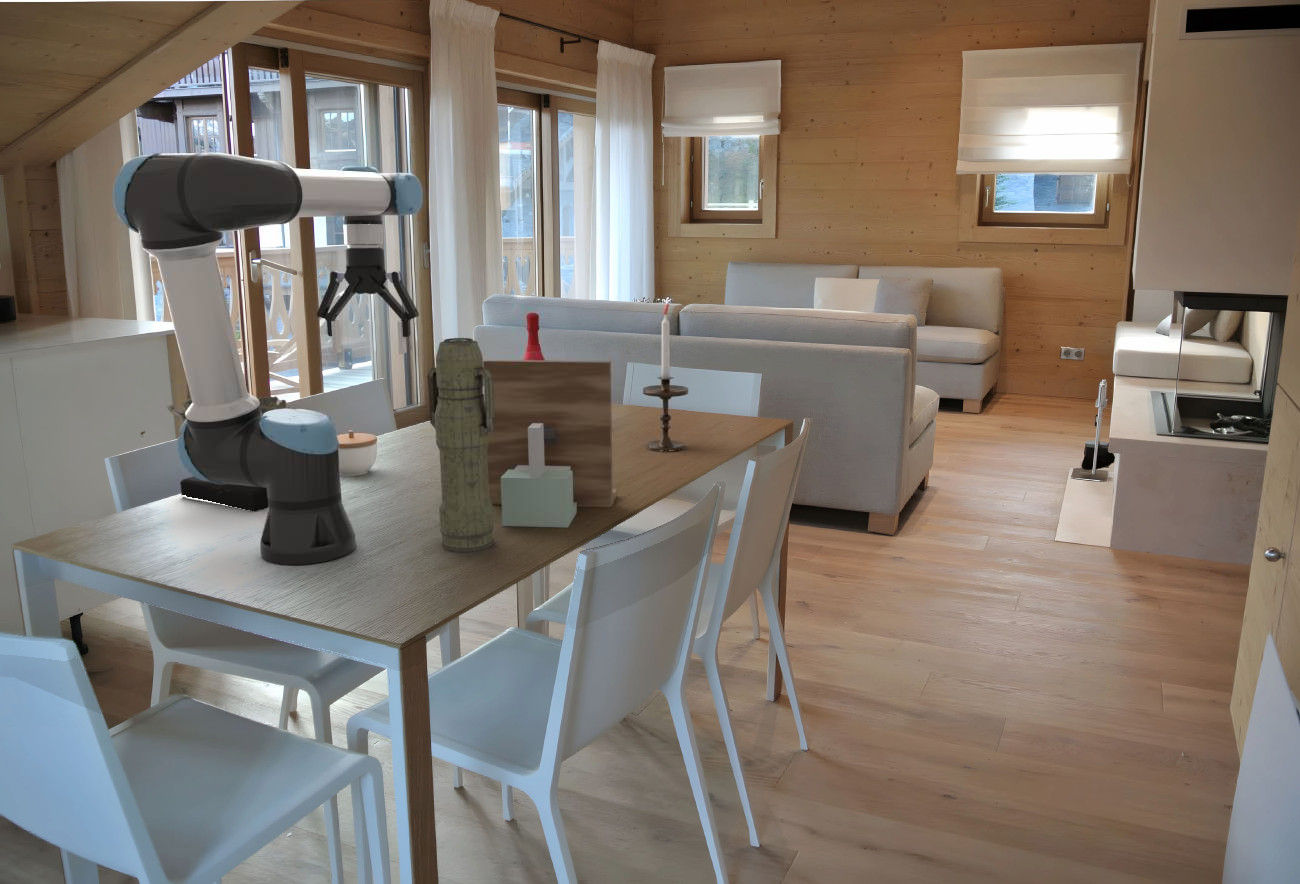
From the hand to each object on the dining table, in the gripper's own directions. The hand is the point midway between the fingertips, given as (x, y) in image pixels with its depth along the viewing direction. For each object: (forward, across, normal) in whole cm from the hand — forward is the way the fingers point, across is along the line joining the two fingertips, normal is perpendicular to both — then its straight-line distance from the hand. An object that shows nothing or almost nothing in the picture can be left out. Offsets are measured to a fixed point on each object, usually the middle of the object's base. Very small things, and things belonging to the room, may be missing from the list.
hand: (370, 353), depth 206 cm
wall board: (+28, -39, +12) cm, 49 cm away
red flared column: (+27, -22, -63) cm, 72 cm away
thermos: (+28, -28, +38) cm, 55 cm away
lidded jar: (+28, +8, -10) cm, 31 cm away
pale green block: (+28, -38, +23) cm, 53 cm away
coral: (+28, +23, +14) cm, 39 cm away
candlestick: (+27, -58, -37) cm, 74 cm away
